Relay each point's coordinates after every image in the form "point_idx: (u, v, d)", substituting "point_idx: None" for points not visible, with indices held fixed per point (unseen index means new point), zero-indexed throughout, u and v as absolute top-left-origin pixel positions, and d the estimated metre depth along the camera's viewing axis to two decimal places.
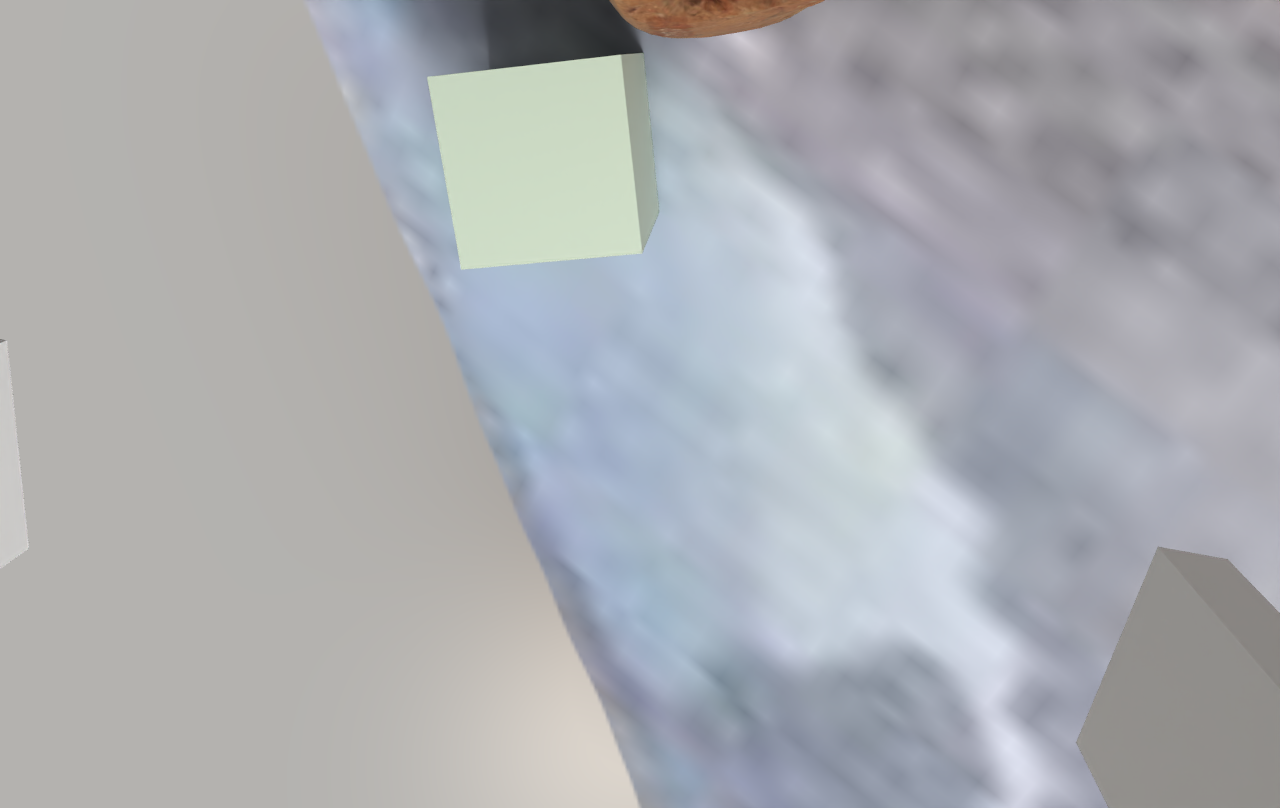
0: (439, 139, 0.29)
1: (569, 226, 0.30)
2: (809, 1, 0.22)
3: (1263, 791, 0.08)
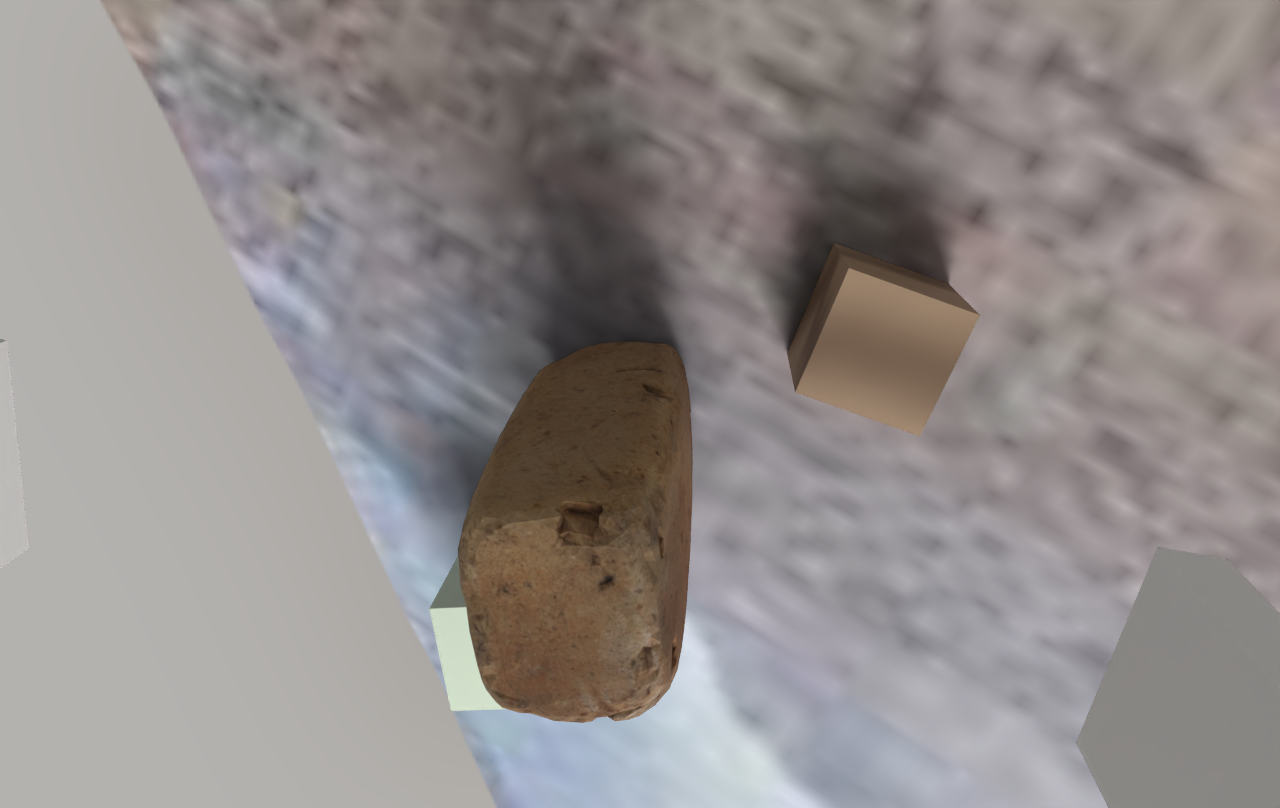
0: (437, 641, 0.46)
1: None
2: None
3: (1263, 791, 0.08)
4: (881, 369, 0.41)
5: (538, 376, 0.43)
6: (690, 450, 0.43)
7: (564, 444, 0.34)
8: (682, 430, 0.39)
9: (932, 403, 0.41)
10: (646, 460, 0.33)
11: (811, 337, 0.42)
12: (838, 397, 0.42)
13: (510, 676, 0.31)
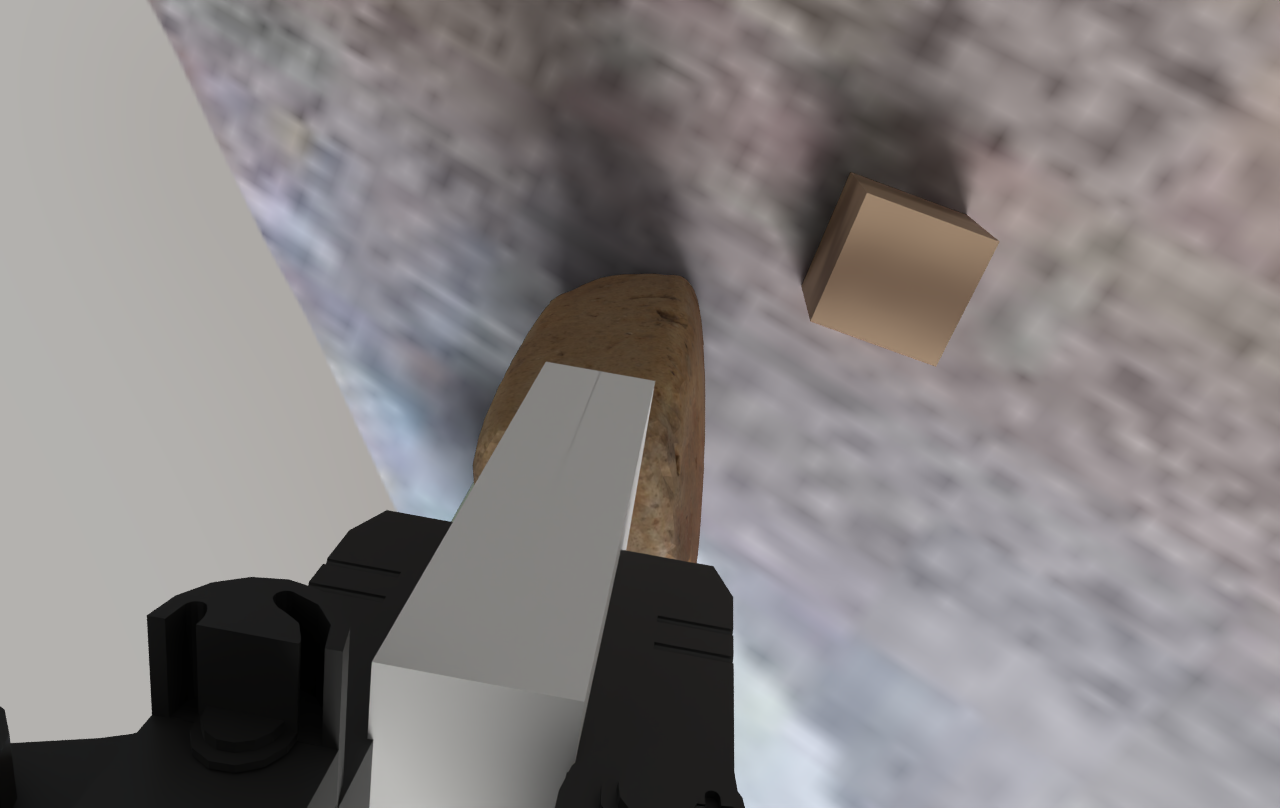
0: None
1: None
2: None
3: None
4: (898, 298, 0.40)
5: (550, 305, 0.42)
6: (703, 381, 0.43)
7: (579, 363, 0.34)
8: (696, 357, 0.39)
9: (949, 332, 0.41)
10: (662, 379, 0.33)
11: (827, 266, 0.42)
12: (854, 327, 0.41)
13: None
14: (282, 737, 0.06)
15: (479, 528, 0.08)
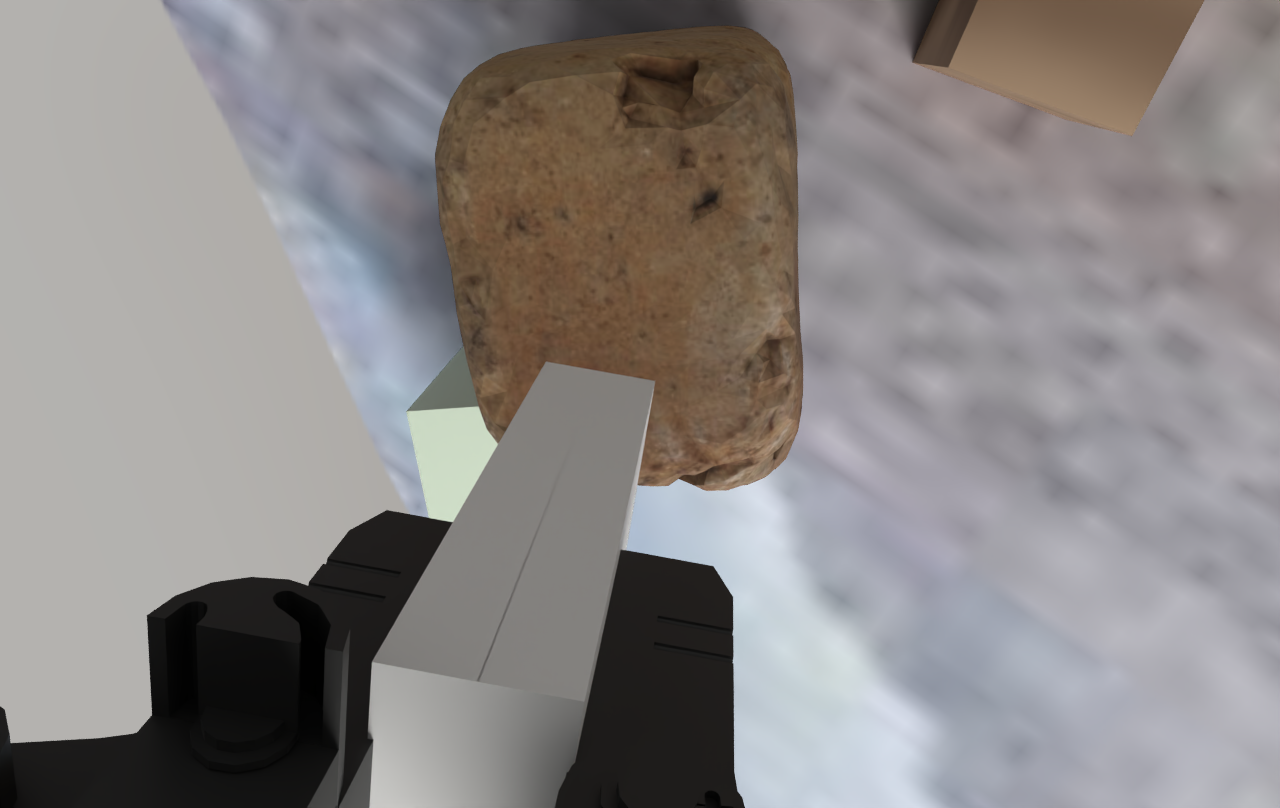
0: (418, 461, 0.32)
1: None
2: None
3: None
4: (1082, 25, 0.27)
5: None
6: None
7: None
8: None
9: (1156, 80, 0.28)
10: (759, 47, 0.19)
11: None
12: (1013, 75, 0.28)
13: None
14: (283, 737, 0.06)
15: (479, 528, 0.08)
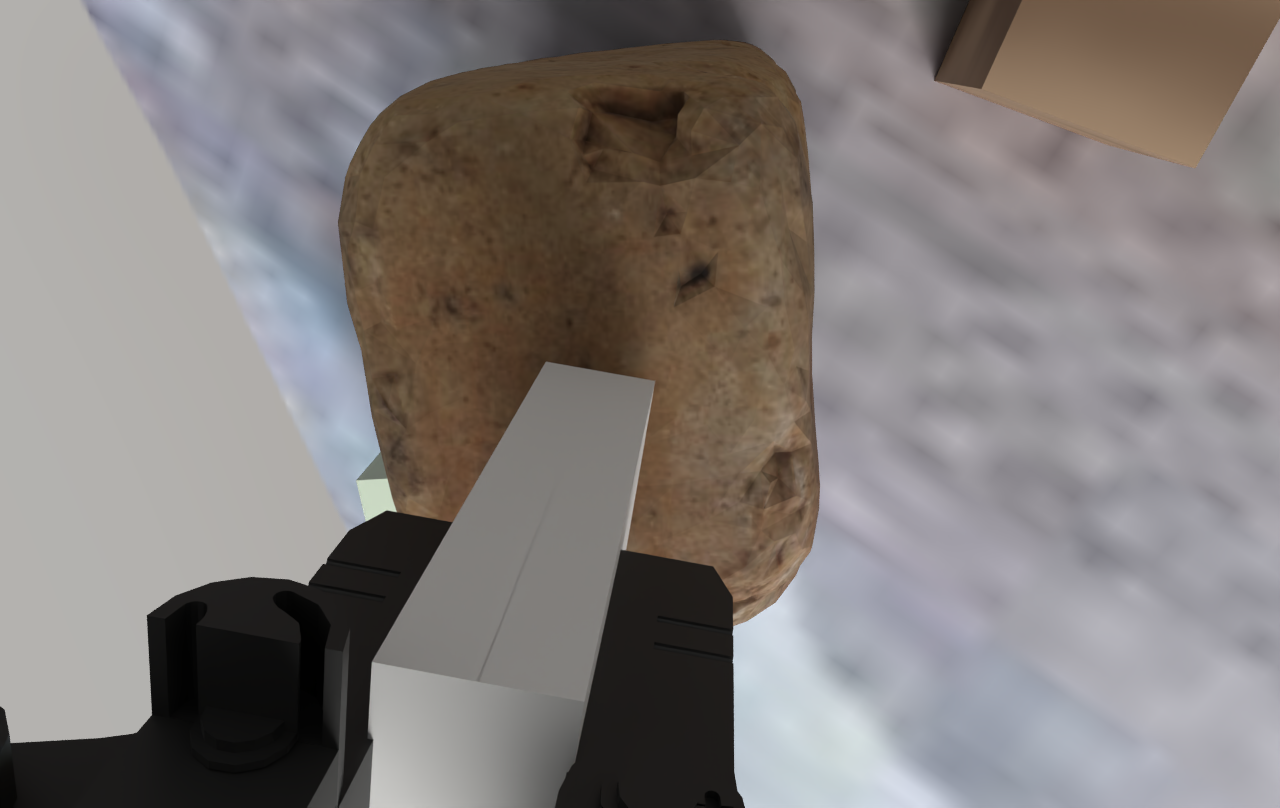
0: None
1: None
2: None
3: None
4: (1139, 40, 0.23)
5: None
6: None
7: (586, 61, 0.16)
8: None
9: (1224, 104, 0.24)
10: (763, 71, 0.15)
11: (1004, 2, 0.25)
12: (1058, 97, 0.24)
13: None
14: (283, 737, 0.06)
15: (479, 528, 0.08)
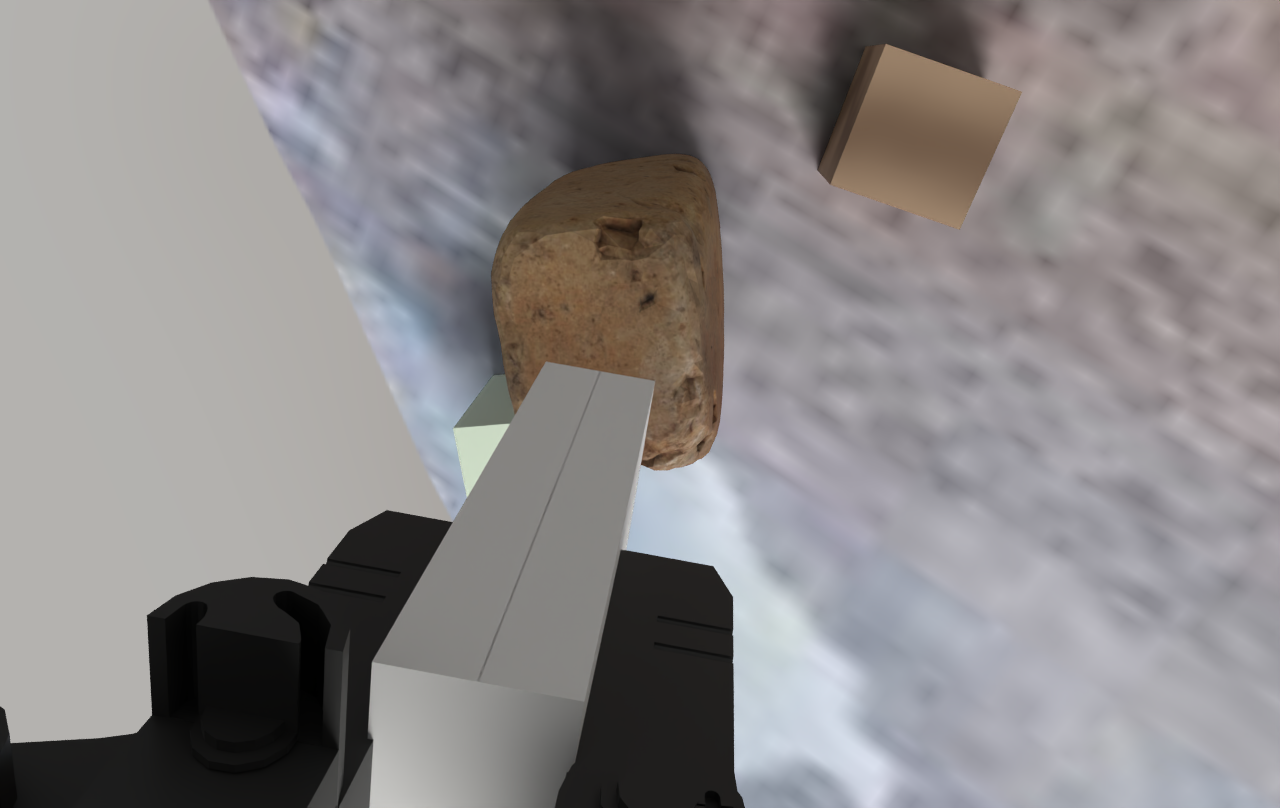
0: (461, 464, 0.44)
1: None
2: None
3: None
4: (919, 156, 0.40)
5: None
6: (721, 252, 0.42)
7: (597, 192, 0.33)
8: (715, 213, 0.38)
9: (972, 192, 0.40)
10: (684, 199, 0.32)
11: (845, 131, 0.41)
12: (875, 189, 0.40)
13: None
14: (282, 737, 0.06)
15: (479, 528, 0.08)
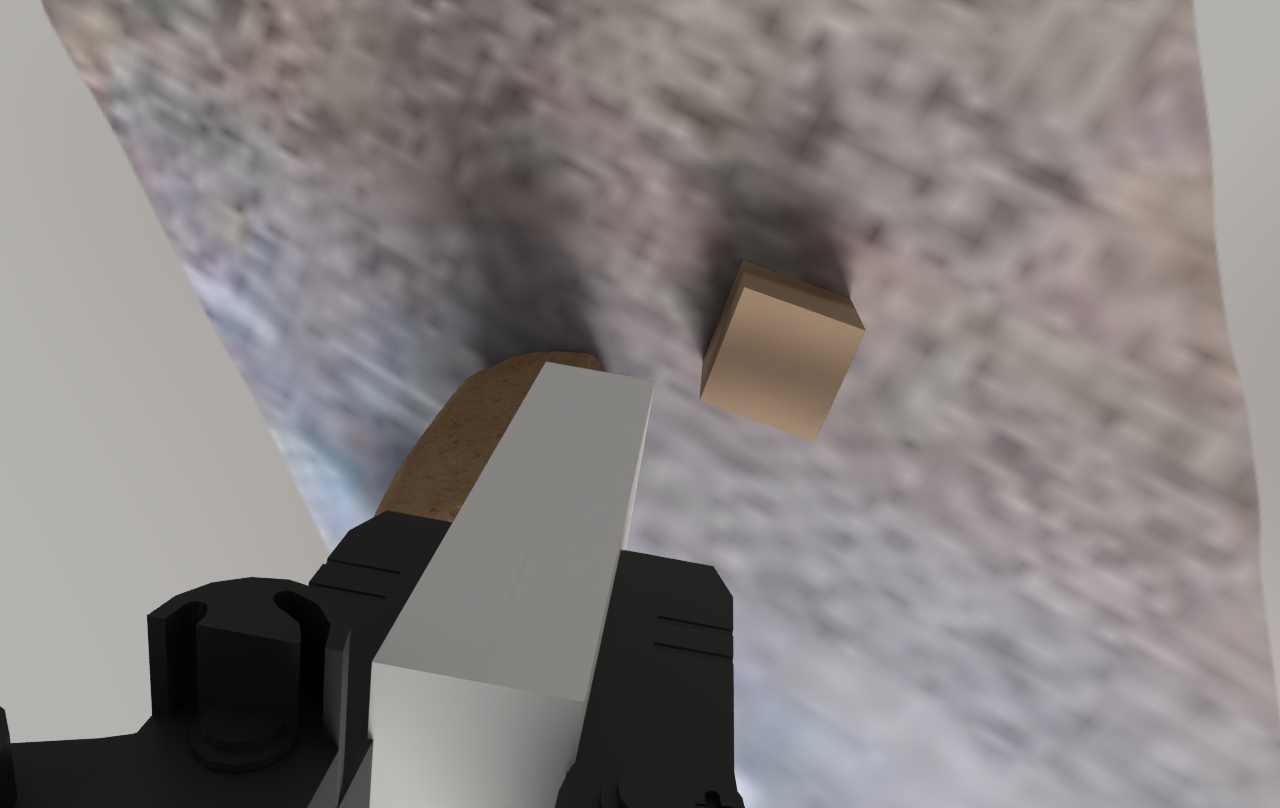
0: None
1: None
2: None
3: None
4: (777, 380, 0.44)
5: (463, 385, 0.46)
6: None
7: (469, 452, 0.37)
8: None
9: (825, 411, 0.45)
10: None
11: (716, 349, 0.46)
12: (739, 406, 0.45)
13: None
14: (283, 737, 0.06)
15: (479, 528, 0.08)
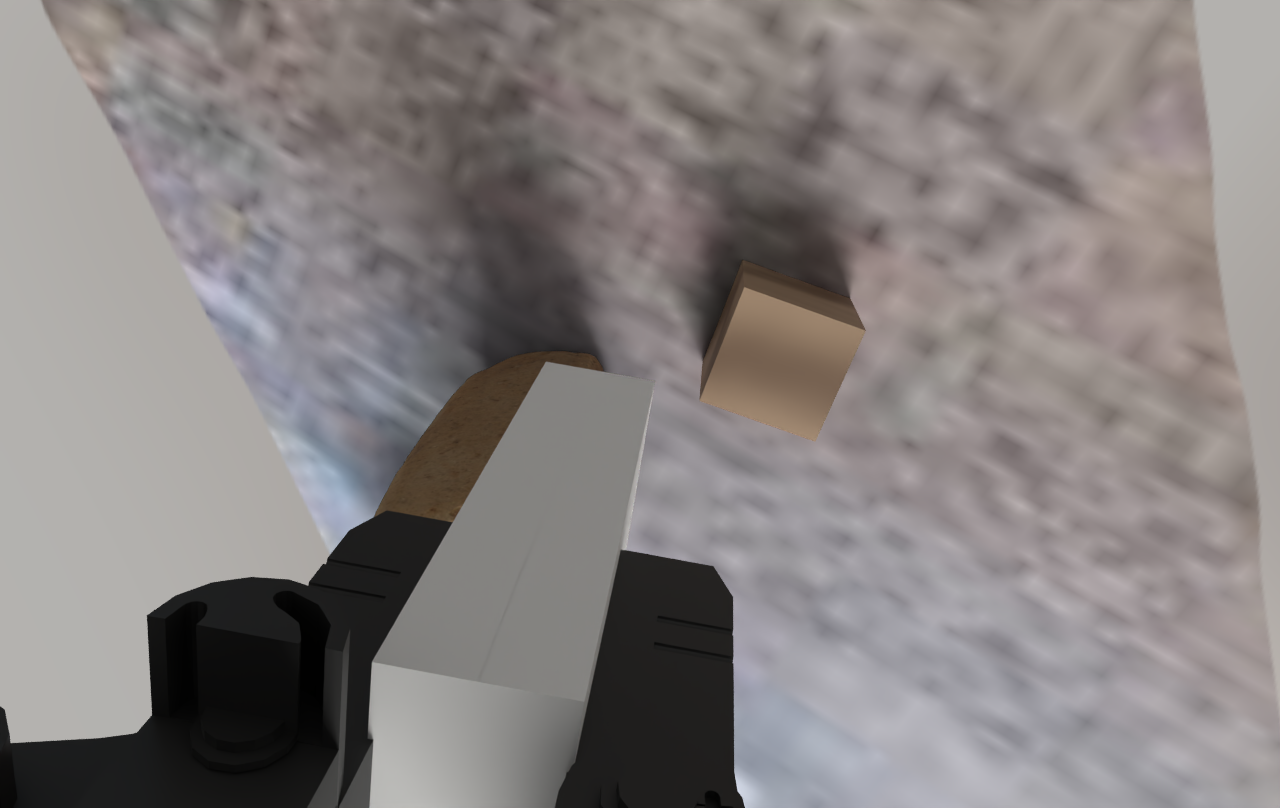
0: None
1: None
2: None
3: None
4: (777, 380, 0.44)
5: (463, 385, 0.46)
6: None
7: (469, 452, 0.37)
8: None
9: (825, 411, 0.45)
10: None
11: (716, 349, 0.46)
12: (739, 406, 0.45)
13: None
14: (283, 737, 0.06)
15: (479, 528, 0.08)
